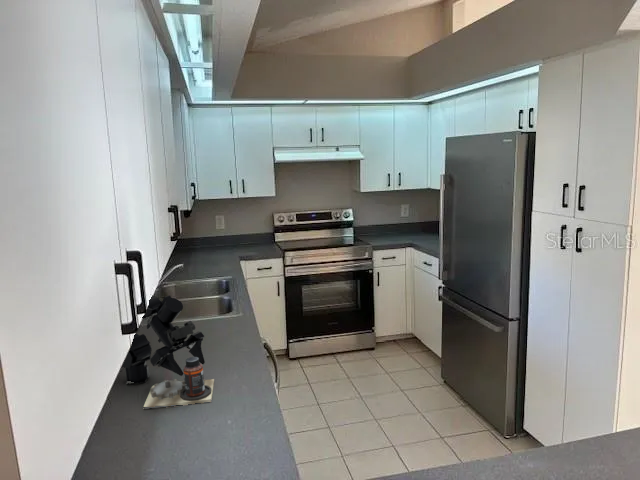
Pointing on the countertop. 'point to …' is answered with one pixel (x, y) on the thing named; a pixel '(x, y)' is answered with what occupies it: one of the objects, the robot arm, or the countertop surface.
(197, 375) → the supplement bottle
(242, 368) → the countertop surface
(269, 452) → the countertop surface
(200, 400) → the gear board
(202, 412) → the countertop surface
